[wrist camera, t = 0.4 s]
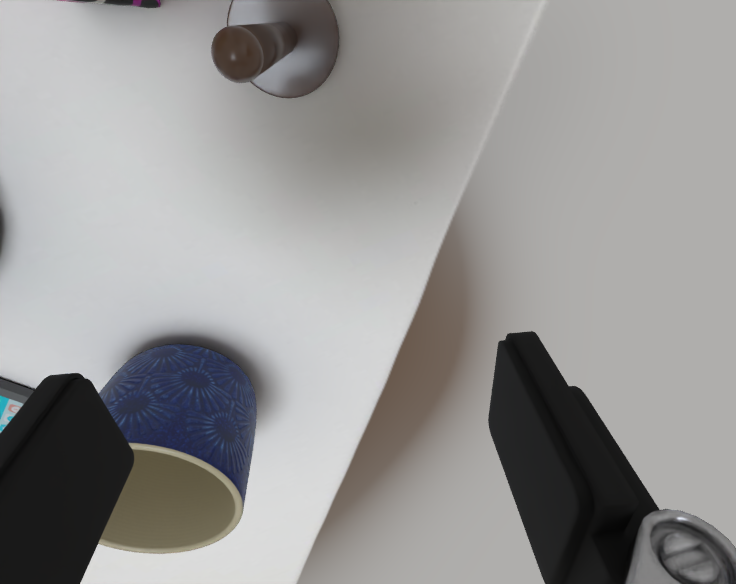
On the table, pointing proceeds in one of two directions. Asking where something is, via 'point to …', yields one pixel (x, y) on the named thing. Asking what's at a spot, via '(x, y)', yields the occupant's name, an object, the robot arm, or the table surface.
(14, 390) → the smartphone
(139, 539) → the planter
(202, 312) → the table surface
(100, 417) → the robot arm
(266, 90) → the brown plunger
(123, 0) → the candy bar box
